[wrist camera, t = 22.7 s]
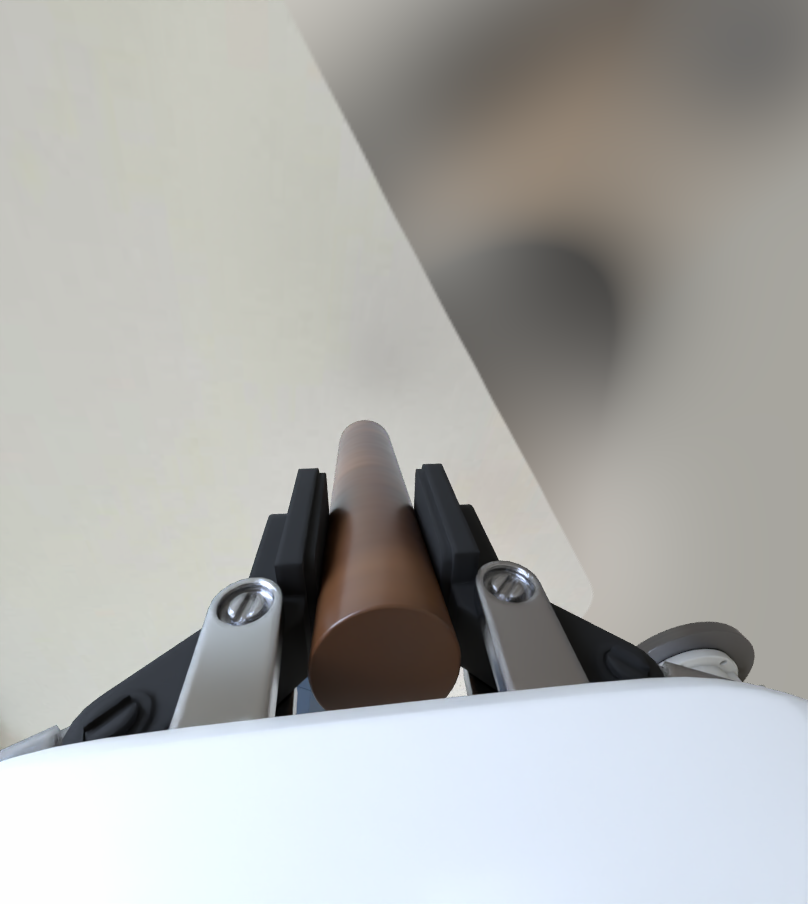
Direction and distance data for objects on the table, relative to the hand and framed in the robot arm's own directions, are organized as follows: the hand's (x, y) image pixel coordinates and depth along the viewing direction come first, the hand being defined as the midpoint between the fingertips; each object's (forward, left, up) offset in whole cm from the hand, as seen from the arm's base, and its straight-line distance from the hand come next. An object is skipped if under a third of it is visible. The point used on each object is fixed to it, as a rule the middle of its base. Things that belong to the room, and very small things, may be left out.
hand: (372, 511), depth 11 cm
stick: (0, +2, -8) cm, 9 cm away
